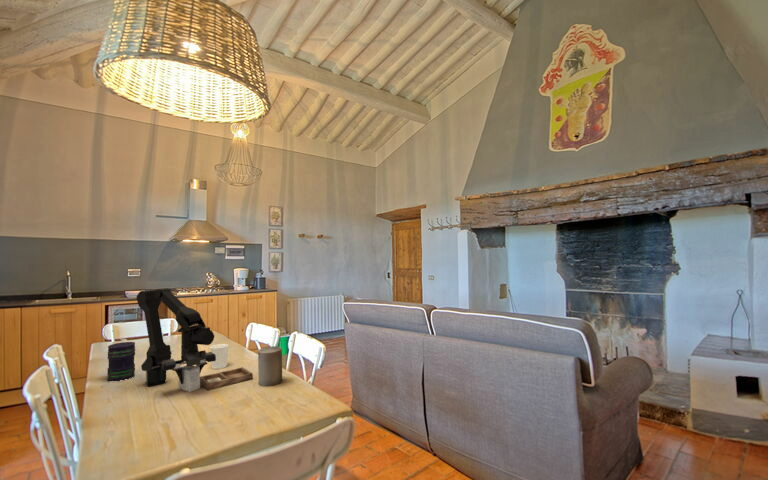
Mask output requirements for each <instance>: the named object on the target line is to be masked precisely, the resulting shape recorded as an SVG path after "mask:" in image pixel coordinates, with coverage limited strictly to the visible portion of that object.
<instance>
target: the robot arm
mask: <svg viewBox="0 0 768 480" xmlns="http://www.w3.org/2000/svg"><path fill="white" fill-rule="evenodd" d="M136 301H137V304H138V307H139V308H140V310H142V311H143V314H144V318H145V325H146V330H147V335H148V344H149V346H148V349H147V351H146V359H145V360H144V361H143V363H142V364H141V365H140V366H141V370H142V371H143V372H146V373H145V376H146V378H145V382H144V383H145V385H146V386H147V387H151V386H156V385H162V384H165V383H167V382H166V380H167V371H171V370H172V371H173V372H175V373H176V375H177V377H178V381H179V380H180V383H181V384H183V379H182V368H181V367H182V366H181V365H185V366H186V365H187V366H196V367H199V368H200V374H201V372H202V370H203V368H204V367H205V366H206V365H208V363H210V362H212V361H216V355H215V354H214V353H212V352H211V351H208V352H207V351H206V350H205V349H204V350H200V351H199V345H202V346H210V345H211V344H212V343H213V342H214V340H215V333H214V332H213V331H212V330H211V328H210V326H206V324H205V322H204V320H203V318H202V317H201V313H200V312H198V311H197V310H195V309H194V308H191V307H189V306H186V305H185V304H184V303H183V302H182V301H181V300H180V299H179V298H178V297H177V296H176V295H175V294H174V293H173V292H172V291H171V289H170V288H167V287H165V288H158V289H150V290H146V289H145V290H140V291H139V292H138V294H137V295H136ZM161 304H164V305H165V306H166V308H167V309H169V310H170V311H171V312H172V313H173V314H174V315H175V321H176V323H177V324H178V325H179V326H180V328H179V329H178V330H177V332H178V333H180V334H181V338H180V340H181V345H180V350H181V351H180V352H181V353H180V359H179V360H175V359H173V358H172V351H171V345H170V344H166V343H165V342H164V337H163V331H162V324H161V319H160V313H159V308H160V306H161Z"/></svg>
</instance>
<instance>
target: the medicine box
mask: <svg viewBox="0 0 768 480" xmlns="http://www.w3.org/2000/svg"><path fill="white" fill-rule="evenodd" d="M180 367H181V368H182V379H183V384H181V383H180V380H179V379H178V389H179V390H182V391H186V392H189V393H191V392H194V391H197V390H200V389H201V384H200V377H201V373H200V368H199V367H196V365H193V366H187V365H186V364H185V365H183V366H180Z"/></svg>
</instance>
